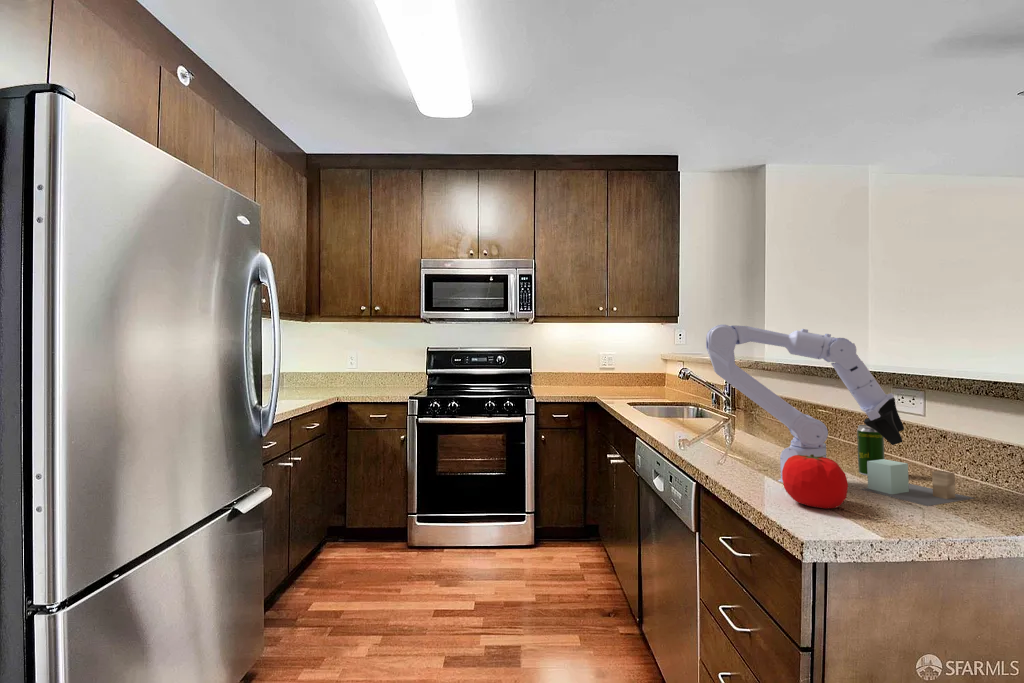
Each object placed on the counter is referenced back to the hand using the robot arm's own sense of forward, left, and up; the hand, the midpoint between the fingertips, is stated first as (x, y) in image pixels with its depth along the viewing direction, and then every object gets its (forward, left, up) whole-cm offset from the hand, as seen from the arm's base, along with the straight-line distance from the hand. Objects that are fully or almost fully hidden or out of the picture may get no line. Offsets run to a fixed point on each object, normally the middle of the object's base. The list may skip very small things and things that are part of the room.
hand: (898, 436), depth 119 cm
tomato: (-28, -2, -12) cm, 30 cm away
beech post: (-1, -9, -11) cm, 14 cm away
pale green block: (-6, -1, -11) cm, 12 cm away
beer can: (+5, +11, -12) cm, 17 cm away
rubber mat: (-3, -5, -11) cm, 13 cm away
